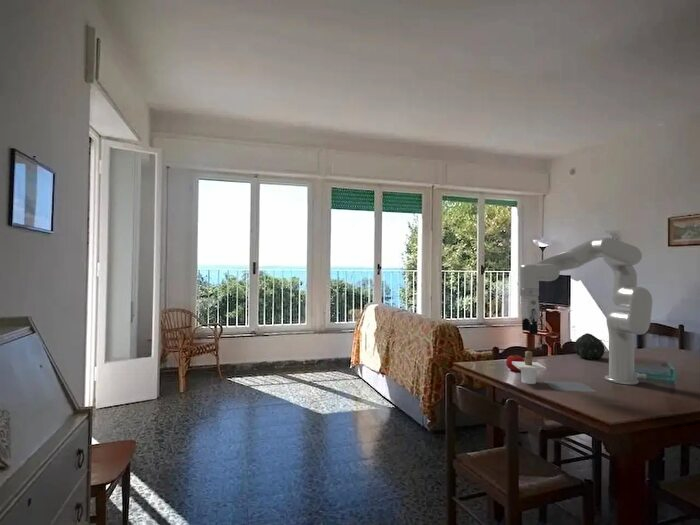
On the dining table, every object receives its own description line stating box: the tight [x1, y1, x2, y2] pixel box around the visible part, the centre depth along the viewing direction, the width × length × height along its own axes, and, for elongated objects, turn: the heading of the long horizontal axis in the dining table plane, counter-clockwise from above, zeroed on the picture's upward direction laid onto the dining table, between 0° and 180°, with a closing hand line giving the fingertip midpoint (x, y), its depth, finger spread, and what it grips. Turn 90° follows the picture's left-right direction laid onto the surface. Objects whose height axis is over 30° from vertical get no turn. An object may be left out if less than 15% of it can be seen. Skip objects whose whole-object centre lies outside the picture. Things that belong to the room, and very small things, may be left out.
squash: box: [573, 332, 606, 360], centre depth 234 cm, size 14×15×15 cm
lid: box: [512, 350, 548, 371], centre depth 180 cm, size 11×11×6 cm
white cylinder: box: [520, 370, 538, 385], centre depth 180 cm, size 7×7×7 cm
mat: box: [543, 380, 598, 393], centre depth 174 cm, size 16×14×1 cm
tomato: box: [505, 353, 525, 372], centre depth 202 cm, size 9×9×8 cm
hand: (529, 332), depth 180 cm, fingers open, 9 cm apart
